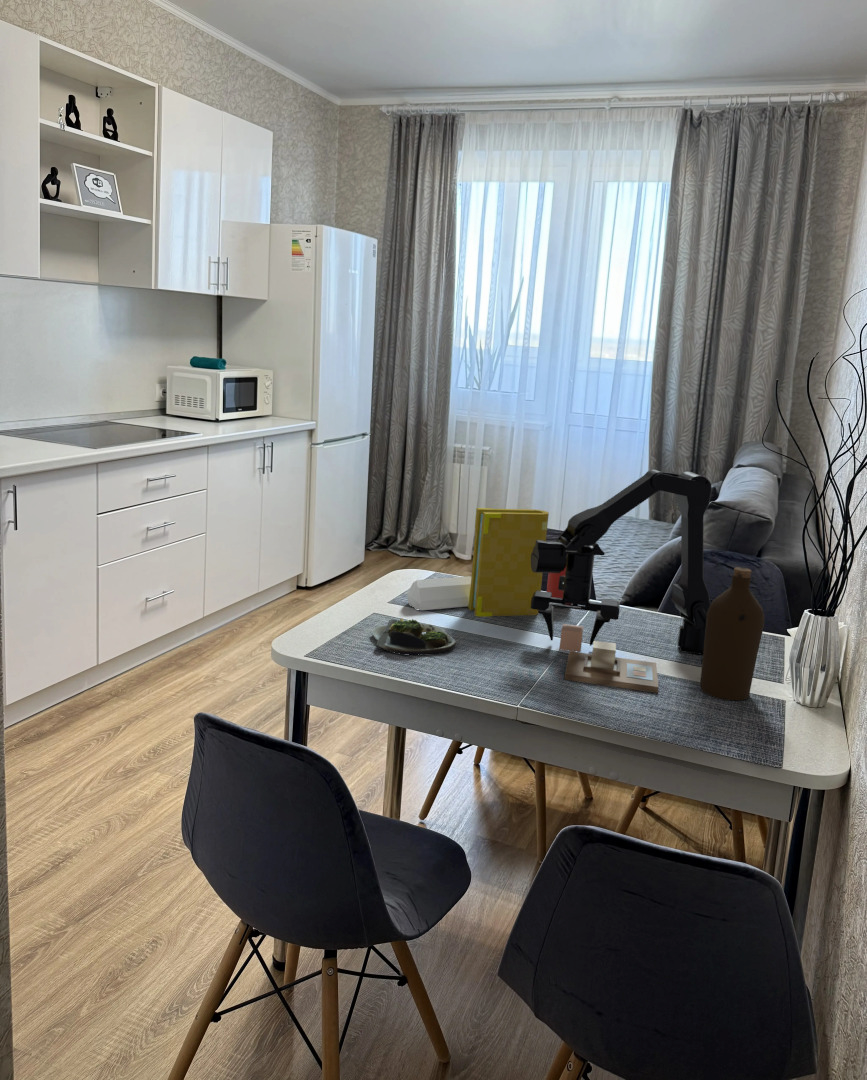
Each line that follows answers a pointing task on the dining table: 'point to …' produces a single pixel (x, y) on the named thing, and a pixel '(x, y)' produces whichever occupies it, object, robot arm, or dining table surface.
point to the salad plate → (413, 638)
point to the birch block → (603, 655)
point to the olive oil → (732, 640)
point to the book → (505, 561)
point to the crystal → (440, 593)
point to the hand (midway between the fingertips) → (571, 642)
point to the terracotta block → (571, 637)
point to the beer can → (555, 584)
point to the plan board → (613, 672)
